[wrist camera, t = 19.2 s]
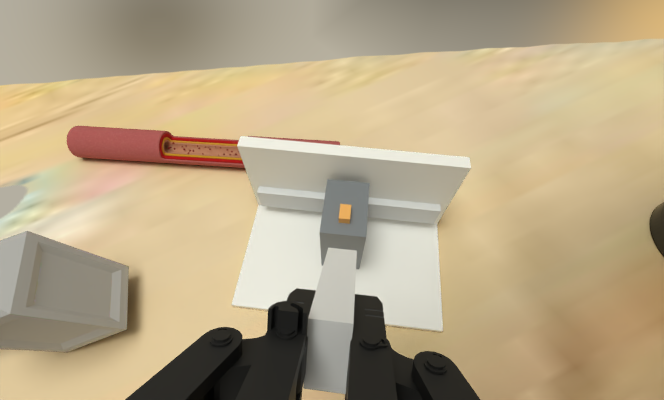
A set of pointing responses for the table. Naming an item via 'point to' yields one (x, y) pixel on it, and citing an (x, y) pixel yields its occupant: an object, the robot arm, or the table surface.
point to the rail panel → (382, 224)
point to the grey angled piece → (58, 295)
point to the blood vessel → (157, 146)
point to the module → (344, 217)
